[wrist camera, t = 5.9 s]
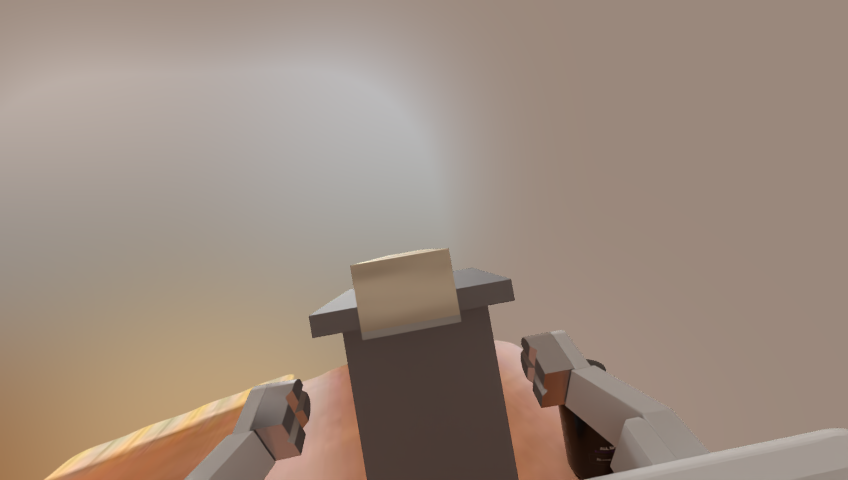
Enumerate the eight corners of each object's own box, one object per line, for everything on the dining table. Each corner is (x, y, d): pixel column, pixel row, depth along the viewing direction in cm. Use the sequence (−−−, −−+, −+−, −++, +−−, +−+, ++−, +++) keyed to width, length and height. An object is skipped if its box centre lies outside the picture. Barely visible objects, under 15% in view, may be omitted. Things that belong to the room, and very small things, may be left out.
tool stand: (579, 660, 20) (511, 279, 21) (373, 711, 19) (308, 315, 20) (513, 499, 33) (472, 267, 34) (388, 527, 32) (348, 289, 33)
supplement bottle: (626, 502, 31) (604, 385, 31) (559, 473, 36) (540, 372, 36) (641, 460, 35) (622, 359, 36) (580, 440, 40) (563, 352, 41)
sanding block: (461, 321, 12) (448, 248, 12) (362, 340, 12) (349, 265, 12) (428, 275, 33) (424, 249, 33) (393, 282, 33) (388, 255, 33)
